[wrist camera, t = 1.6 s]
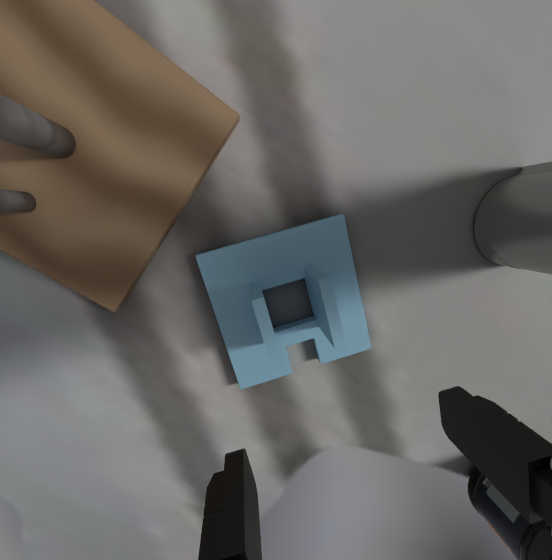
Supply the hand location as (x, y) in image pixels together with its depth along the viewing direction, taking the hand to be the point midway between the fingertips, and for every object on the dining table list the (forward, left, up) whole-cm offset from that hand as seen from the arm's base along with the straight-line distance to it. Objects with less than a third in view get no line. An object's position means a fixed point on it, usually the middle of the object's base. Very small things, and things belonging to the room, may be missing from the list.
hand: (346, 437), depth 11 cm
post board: (-2, -23, -18) cm, 29 cm away
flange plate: (0, 0, -18) cm, 18 cm away
